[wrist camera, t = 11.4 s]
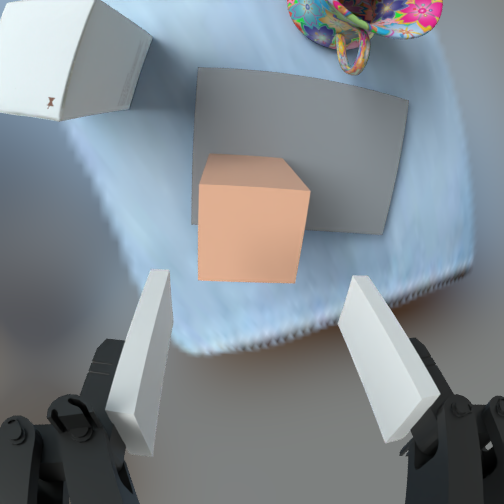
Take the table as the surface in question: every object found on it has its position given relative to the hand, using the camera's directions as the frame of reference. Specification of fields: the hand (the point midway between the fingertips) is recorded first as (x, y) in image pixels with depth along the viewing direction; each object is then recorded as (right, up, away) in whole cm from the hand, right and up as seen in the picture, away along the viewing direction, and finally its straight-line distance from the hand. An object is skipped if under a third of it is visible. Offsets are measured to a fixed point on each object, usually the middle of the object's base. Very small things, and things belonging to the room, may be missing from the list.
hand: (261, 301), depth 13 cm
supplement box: (-13, +19, +9) cm, 25 cm away
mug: (+6, +23, +8) cm, 25 cm away
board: (+4, +11, +14) cm, 18 cm away
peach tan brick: (-1, +7, +14) cm, 16 cm away
